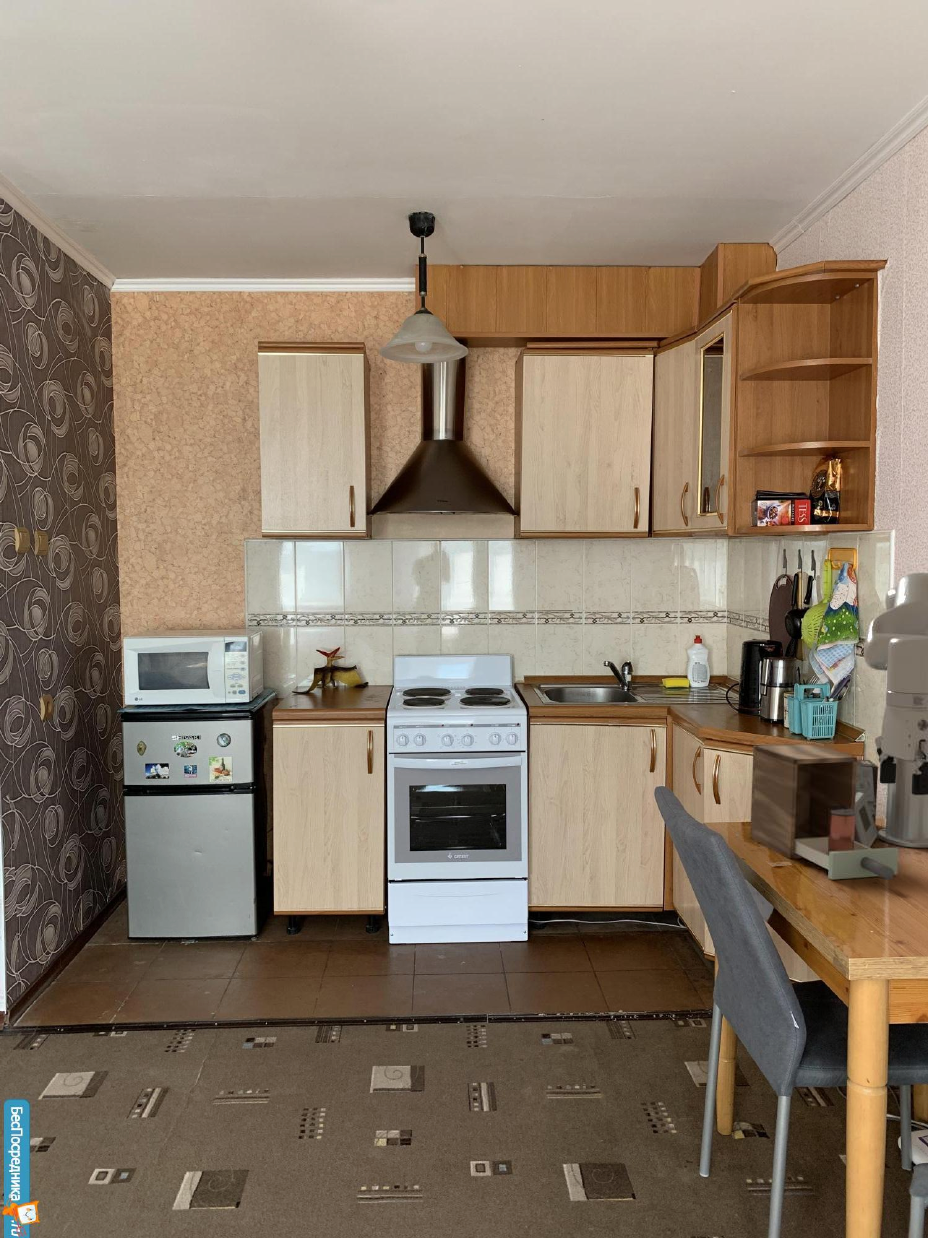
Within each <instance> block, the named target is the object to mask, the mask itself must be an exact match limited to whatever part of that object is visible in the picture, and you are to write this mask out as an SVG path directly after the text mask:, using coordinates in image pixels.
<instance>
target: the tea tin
mask: <svg viewBox="0 0 928 1238" xmlns="http://www.w3.org/2000/svg"><path fill="white" fill-rule="evenodd" d="M828 812H829V823H828V855H829V852H833V851H848V850H854V834H855V813H856V810H855V809H853V808H850V807H845V806H830V807H828Z"/></svg>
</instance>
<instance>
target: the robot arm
mask: <svg viewBox="0 0 928 1238" xmlns="http://www.w3.org/2000/svg"><path fill="white" fill-rule="evenodd" d="M884 603H885V609H886V611H884V612H882V613H881V614H879V615H878V616H876V617H874V619H873V620H872V621H871V622H870V623H869V626H868V628H867V631H866V636H865V641H864V647H863V658H864V662H865V663H866V665H867V666H868V667H869V668H870V669H873V670H876V671H886V690H885V693H886V694H885V708H884V712H883V713H884V714H883V718H882V724H881V725H882V726H881V733H880V734H881V735H879V736H878V737H876V738H875V739H874V743H875V746H876V753H877V755H878V756H877V757H878V759H877V760H878V762H879V763H880V765H879V783H880V784H883V785H886V784H887V786H886V807H885V810H886V812H885V828H881V829H880V830H878V831H877V832H878V835H877V837H878V838H879V839H880V840H881V841H883V842H886V843H888V844H892V845H896V846H901V847H907V848H908V847H909V848H915V849H916V848H917V849H918V848H920V849H921V848H922V849H923V848H926V849H928V572H914V573H909V574H906V575H904V576H903V577H902V578H901V579H900V580H898V582H897V584H896V587H892V588H891V589H889V590H888V591H887V592H886V595H885V602H884Z"/></svg>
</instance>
